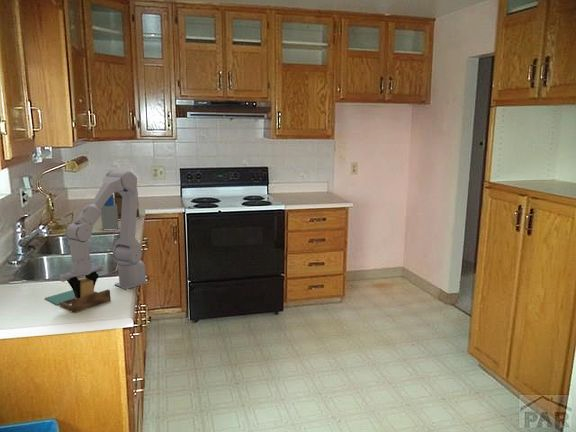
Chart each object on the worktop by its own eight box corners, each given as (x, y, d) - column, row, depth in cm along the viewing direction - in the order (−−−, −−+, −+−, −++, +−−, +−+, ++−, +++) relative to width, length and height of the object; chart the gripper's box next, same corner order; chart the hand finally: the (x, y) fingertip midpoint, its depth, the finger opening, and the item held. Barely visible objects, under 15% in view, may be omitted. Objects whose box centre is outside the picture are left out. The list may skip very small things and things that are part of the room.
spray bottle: (102, 228, 269) (99, 186, 264) (118, 226, 272) (115, 185, 267) (102, 231, 261) (98, 188, 256) (118, 230, 264) (115, 187, 259)
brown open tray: (95, 294, 165) (95, 284, 164) (110, 300, 159) (109, 290, 158) (59, 305, 154) (58, 294, 154) (73, 313, 148) (72, 301, 148)
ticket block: (86, 298, 160) (84, 277, 158) (95, 302, 156) (93, 280, 155) (75, 302, 157) (72, 280, 155) (83, 306, 153) (81, 283, 152)
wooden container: (143, 218, 298) (141, 185, 293) (122, 221, 287) (120, 187, 282) (132, 215, 307) (129, 183, 303) (111, 218, 297) (108, 185, 292)
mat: (82, 288, 171) (82, 287, 171) (96, 293, 165) (95, 292, 165) (44, 299, 160) (44, 298, 160) (57, 305, 154) (57, 304, 154)
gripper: (65, 265, 145) (69, 305, 148) (106, 255, 157) (110, 292, 159) (54, 261, 150) (59, 299, 152) (96, 251, 161) (99, 287, 164)
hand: (84, 295), depth 156 cm, fingers closed on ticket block, 4 cm apart
